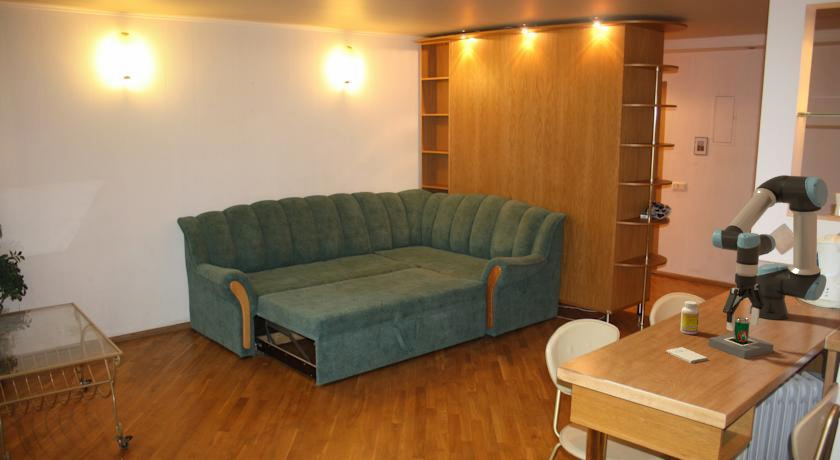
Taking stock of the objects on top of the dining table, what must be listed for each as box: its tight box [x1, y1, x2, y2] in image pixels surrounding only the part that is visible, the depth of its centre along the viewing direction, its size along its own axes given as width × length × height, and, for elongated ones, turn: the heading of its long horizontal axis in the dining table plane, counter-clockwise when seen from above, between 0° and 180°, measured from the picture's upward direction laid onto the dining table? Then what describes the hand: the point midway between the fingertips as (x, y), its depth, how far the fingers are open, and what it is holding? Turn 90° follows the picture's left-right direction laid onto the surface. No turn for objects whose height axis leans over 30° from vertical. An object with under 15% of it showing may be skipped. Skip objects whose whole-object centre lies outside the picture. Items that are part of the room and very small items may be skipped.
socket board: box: [708, 332, 775, 360], centre depth 253 cm, size 16×16×3 cm
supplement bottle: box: [680, 300, 700, 335], centre depth 272 cm, size 7×7×13 cm
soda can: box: [733, 316, 751, 345], centre depth 253 cm, size 5×5×12 cm
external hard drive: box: [665, 346, 709, 364], centre depth 246 cm, size 2×8×12 cm
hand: (742, 327), depth 252 cm, fingers open, 13 cm apart
